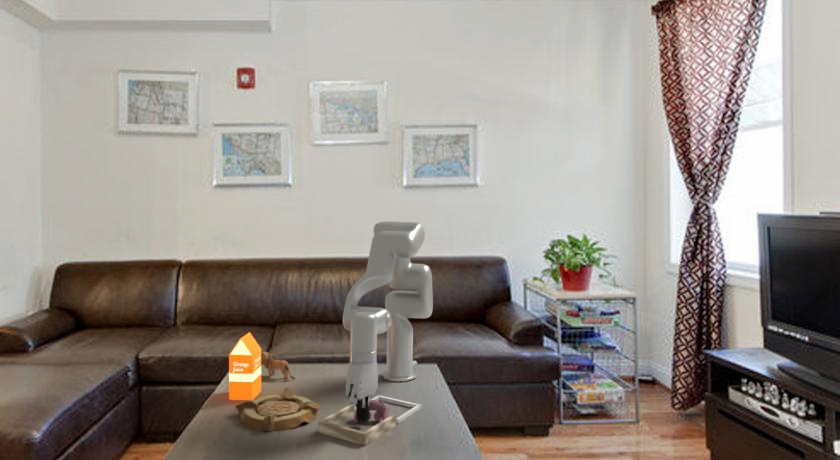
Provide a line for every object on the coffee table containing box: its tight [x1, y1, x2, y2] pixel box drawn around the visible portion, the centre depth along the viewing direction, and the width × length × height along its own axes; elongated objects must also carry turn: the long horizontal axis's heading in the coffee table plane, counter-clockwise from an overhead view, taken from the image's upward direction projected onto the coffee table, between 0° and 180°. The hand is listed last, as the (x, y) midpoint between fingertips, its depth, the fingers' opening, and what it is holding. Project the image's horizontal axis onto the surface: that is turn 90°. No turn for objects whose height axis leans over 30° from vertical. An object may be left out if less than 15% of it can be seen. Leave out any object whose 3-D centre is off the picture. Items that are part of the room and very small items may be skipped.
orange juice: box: [228, 331, 262, 401], centre depth 178 cm, size 8×9×20 cm
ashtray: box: [235, 387, 321, 433], centre depth 162 cm, size 24×24×5 cm
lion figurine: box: [261, 351, 296, 382], centre depth 196 cm, size 15×5×9 cm, turn 71°
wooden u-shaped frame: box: [317, 404, 397, 447], centre depth 153 cm, size 15×16×3 cm
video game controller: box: [353, 400, 390, 424], centre depth 159 cm, size 10×5×7 cm, turn 82°
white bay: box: [354, 394, 422, 424], centre depth 167 cm, size 14×16×1 cm
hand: (362, 419), depth 155 cm, fingers closed
